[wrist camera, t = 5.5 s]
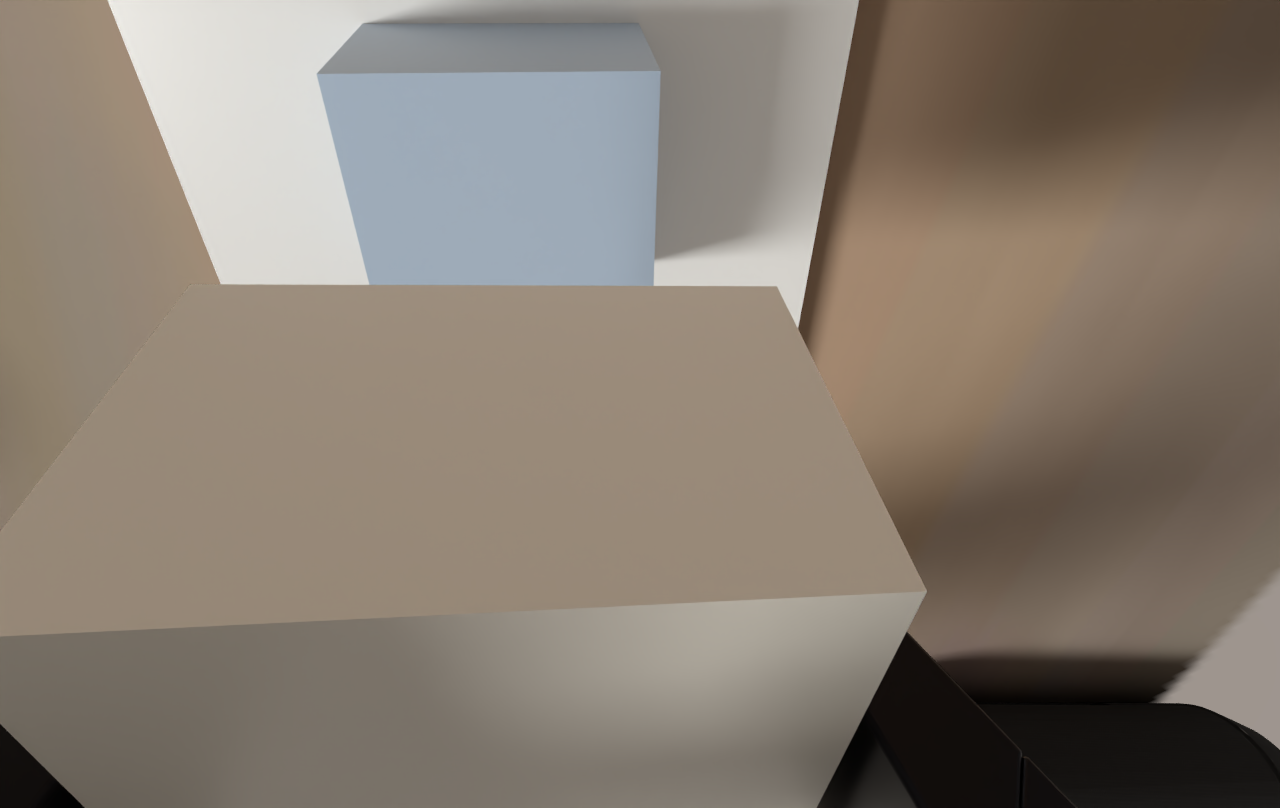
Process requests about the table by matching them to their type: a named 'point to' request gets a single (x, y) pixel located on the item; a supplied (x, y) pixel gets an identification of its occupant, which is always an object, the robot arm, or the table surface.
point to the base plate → (340, 3)
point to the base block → (498, 151)
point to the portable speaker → (1144, 754)
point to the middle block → (454, 557)
